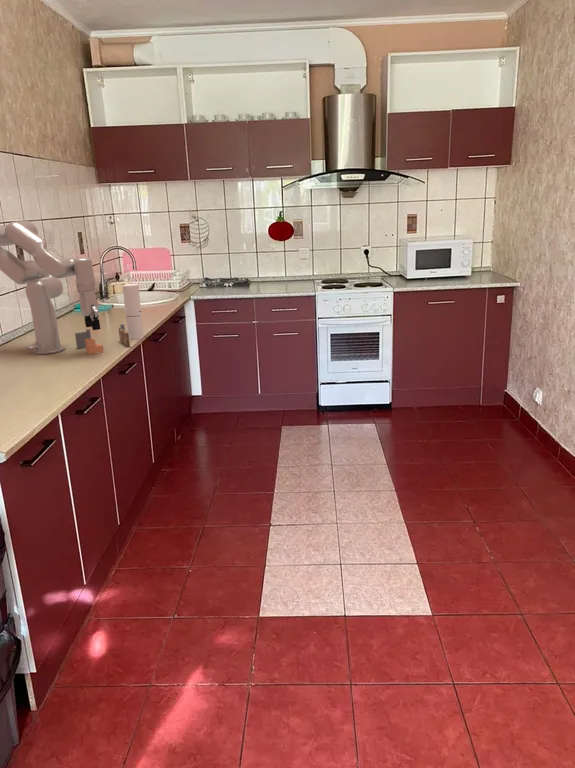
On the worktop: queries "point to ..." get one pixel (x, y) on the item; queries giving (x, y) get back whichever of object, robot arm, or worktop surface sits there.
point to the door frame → (86, 337)
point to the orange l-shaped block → (93, 346)
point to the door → (124, 337)
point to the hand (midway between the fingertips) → (93, 328)
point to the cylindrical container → (133, 311)
